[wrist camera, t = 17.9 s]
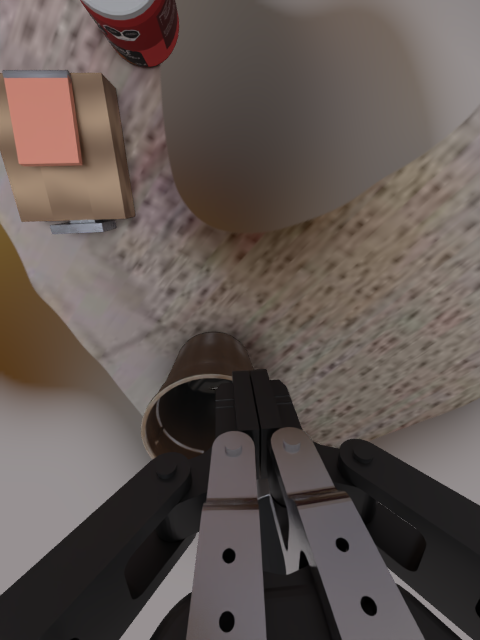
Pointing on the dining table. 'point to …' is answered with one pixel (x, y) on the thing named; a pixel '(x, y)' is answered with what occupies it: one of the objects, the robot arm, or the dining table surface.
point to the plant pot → (192, 396)
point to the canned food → (137, 28)
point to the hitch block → (80, 180)
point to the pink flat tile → (43, 117)
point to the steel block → (83, 226)
